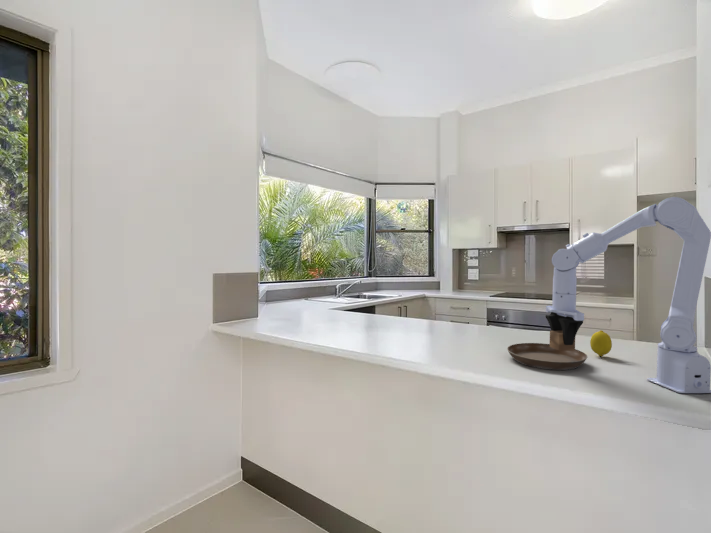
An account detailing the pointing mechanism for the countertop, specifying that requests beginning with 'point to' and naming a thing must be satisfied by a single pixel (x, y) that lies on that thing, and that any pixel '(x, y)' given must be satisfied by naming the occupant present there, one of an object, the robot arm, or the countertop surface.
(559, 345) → the walnut block
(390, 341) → the countertop surface
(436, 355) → the countertop surface
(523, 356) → the plant saucer
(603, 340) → the lemon
